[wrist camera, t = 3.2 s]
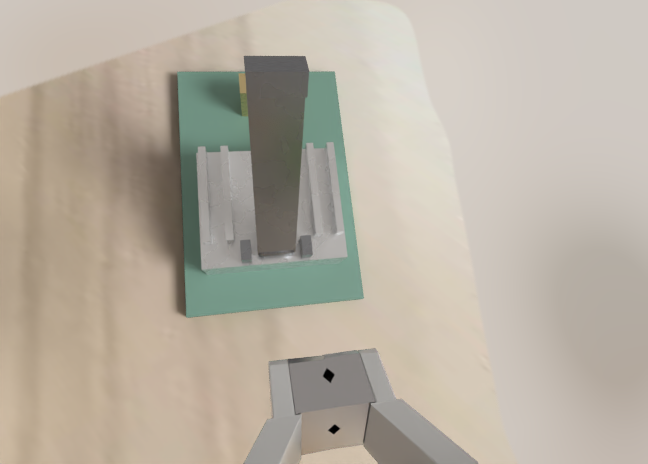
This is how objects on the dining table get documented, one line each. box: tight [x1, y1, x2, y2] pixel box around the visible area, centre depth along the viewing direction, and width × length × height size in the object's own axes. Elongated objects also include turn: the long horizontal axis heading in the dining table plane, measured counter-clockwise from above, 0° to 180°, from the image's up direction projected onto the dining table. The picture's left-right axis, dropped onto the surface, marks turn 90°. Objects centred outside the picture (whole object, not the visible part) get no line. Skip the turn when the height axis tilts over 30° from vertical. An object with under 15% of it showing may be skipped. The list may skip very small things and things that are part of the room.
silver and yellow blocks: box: [196, 73, 348, 275], centre depth 35 cm, size 18×12×6 cm
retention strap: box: [244, 56, 309, 257], centre depth 25 cm, size 16×3×2 cm
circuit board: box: [177, 72, 364, 318], centre depth 38 cm, size 24×16×1 cm, turn 6°
